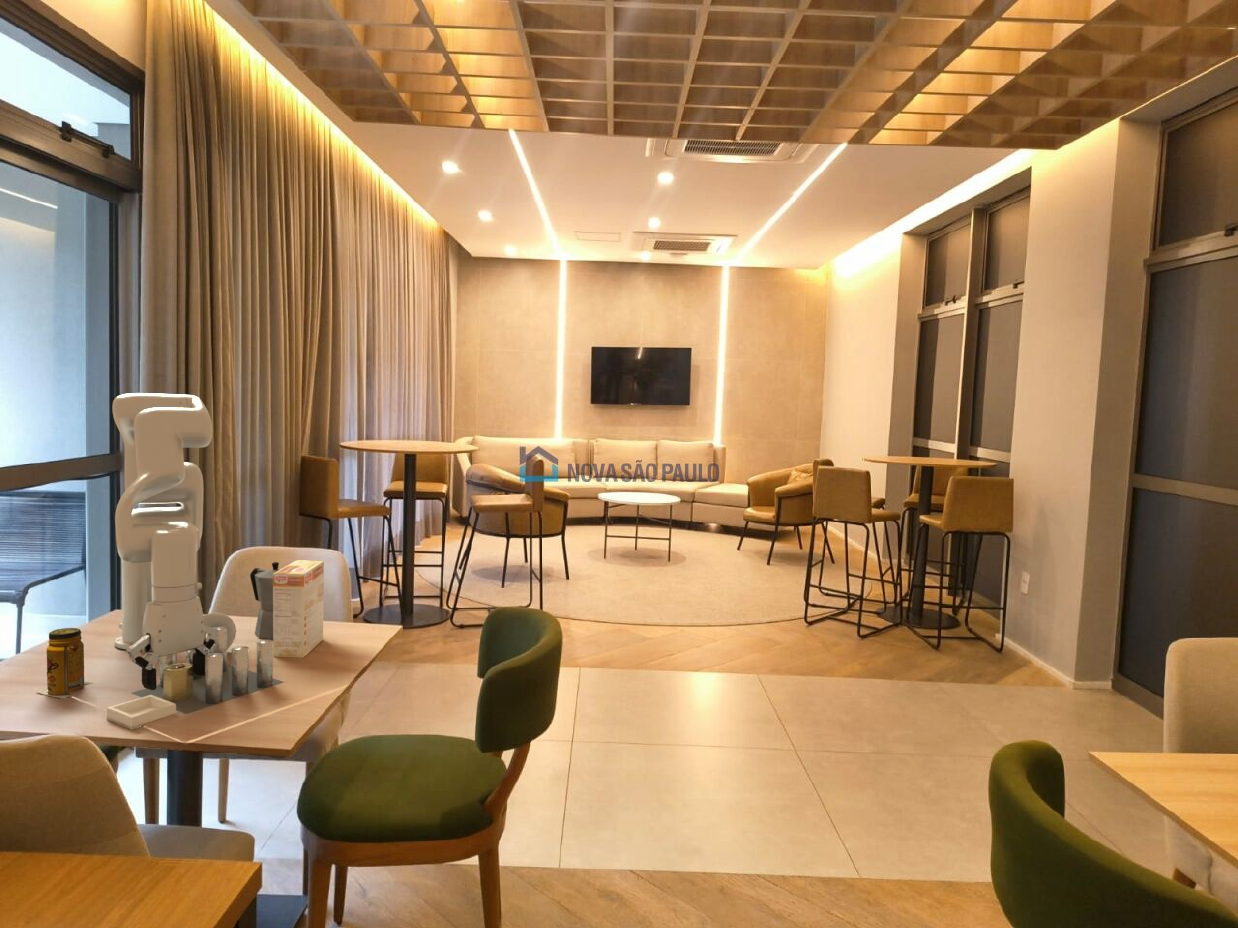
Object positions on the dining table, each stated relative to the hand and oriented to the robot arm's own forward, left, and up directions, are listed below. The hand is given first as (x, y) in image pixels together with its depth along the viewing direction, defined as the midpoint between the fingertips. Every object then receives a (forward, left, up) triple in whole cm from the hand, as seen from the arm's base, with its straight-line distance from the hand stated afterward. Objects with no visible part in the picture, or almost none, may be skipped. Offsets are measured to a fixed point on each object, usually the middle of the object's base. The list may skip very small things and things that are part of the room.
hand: (175, 681), depth 157 cm
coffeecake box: (-9, +35, -4) cm, 37 cm away
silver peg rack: (-1, +9, -4) cm, 10 cm away
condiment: (-22, -8, -4) cm, 24 cm away
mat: (-1, +8, -4) cm, 9 cm away
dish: (+3, -8, -4) cm, 9 cm away
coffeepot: (-24, +39, -4) cm, 46 cm away
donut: (-19, +20, -4) cm, 28 cm away
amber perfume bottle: (-1, +1, -4) cm, 4 cm away
